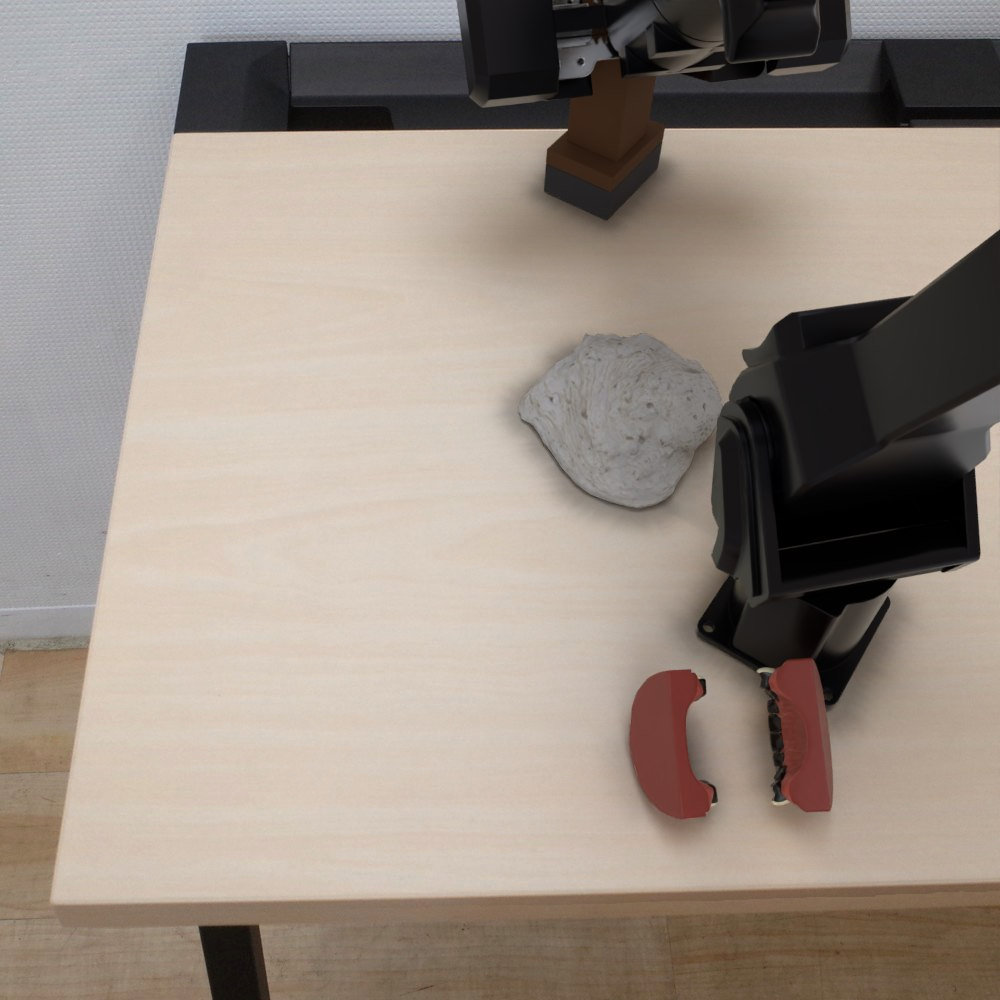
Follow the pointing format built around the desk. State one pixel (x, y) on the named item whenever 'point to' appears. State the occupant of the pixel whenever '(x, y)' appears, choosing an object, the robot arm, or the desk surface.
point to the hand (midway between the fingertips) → (608, 58)
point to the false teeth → (796, 747)
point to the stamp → (605, 142)
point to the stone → (624, 416)
